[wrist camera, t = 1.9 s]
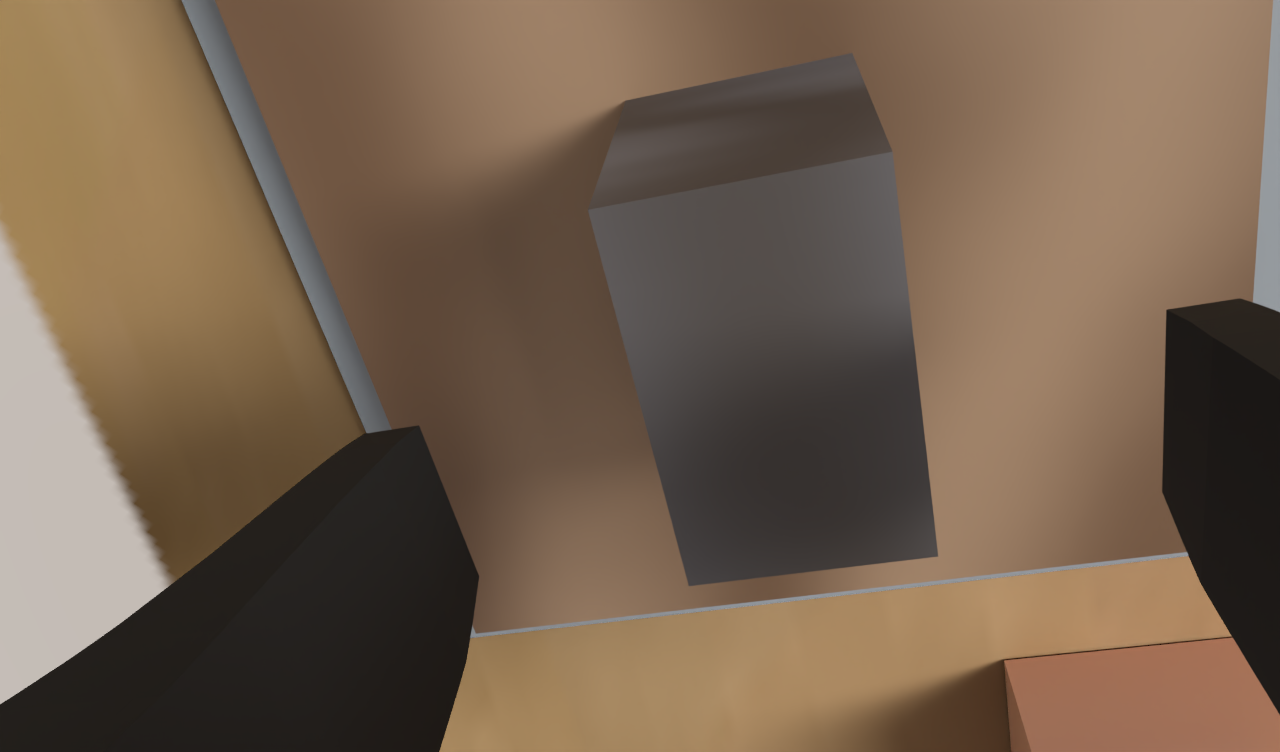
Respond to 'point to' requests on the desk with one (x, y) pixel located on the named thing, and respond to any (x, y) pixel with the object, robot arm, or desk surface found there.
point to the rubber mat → (1273, 288)
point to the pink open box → (1141, 701)
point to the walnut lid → (771, 273)
